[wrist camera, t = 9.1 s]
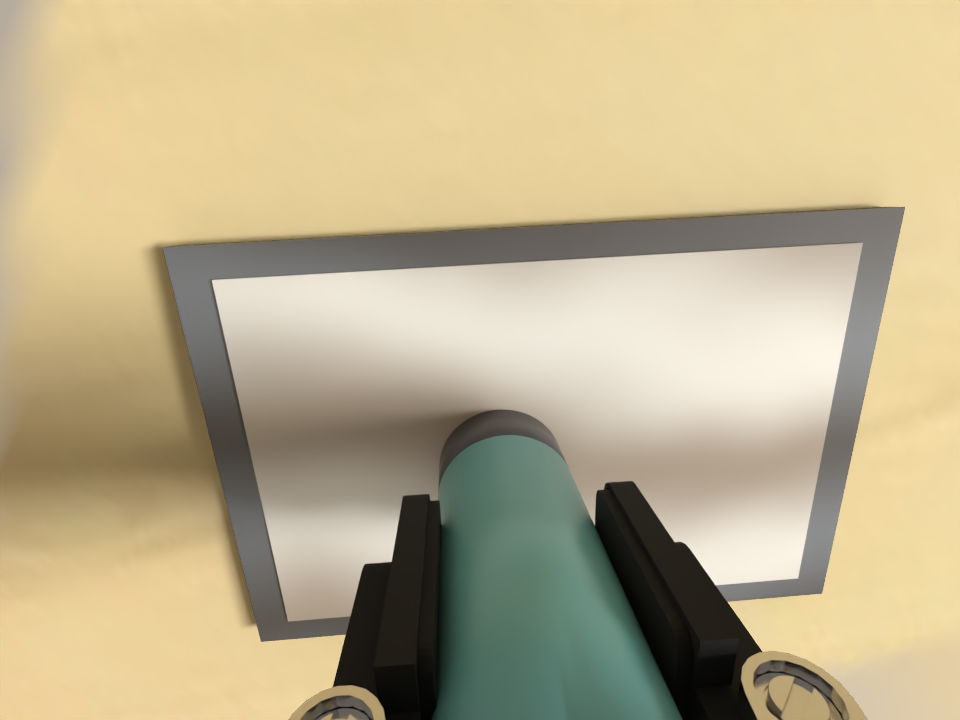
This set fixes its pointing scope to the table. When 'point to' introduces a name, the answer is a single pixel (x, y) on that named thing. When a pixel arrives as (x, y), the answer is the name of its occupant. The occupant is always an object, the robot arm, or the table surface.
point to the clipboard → (537, 383)
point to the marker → (531, 589)
